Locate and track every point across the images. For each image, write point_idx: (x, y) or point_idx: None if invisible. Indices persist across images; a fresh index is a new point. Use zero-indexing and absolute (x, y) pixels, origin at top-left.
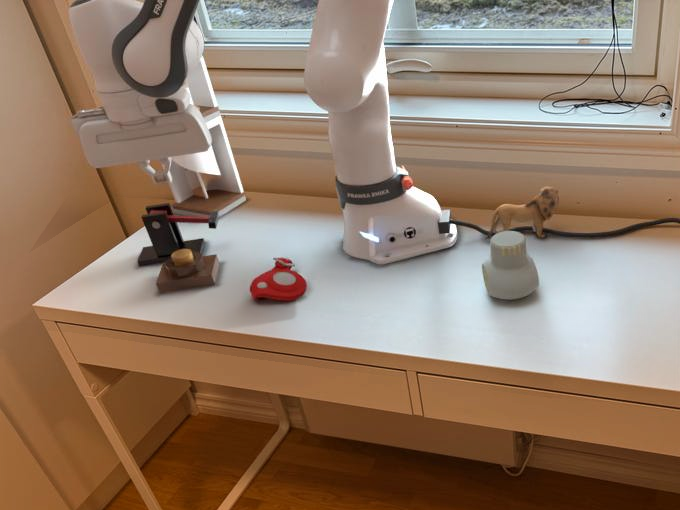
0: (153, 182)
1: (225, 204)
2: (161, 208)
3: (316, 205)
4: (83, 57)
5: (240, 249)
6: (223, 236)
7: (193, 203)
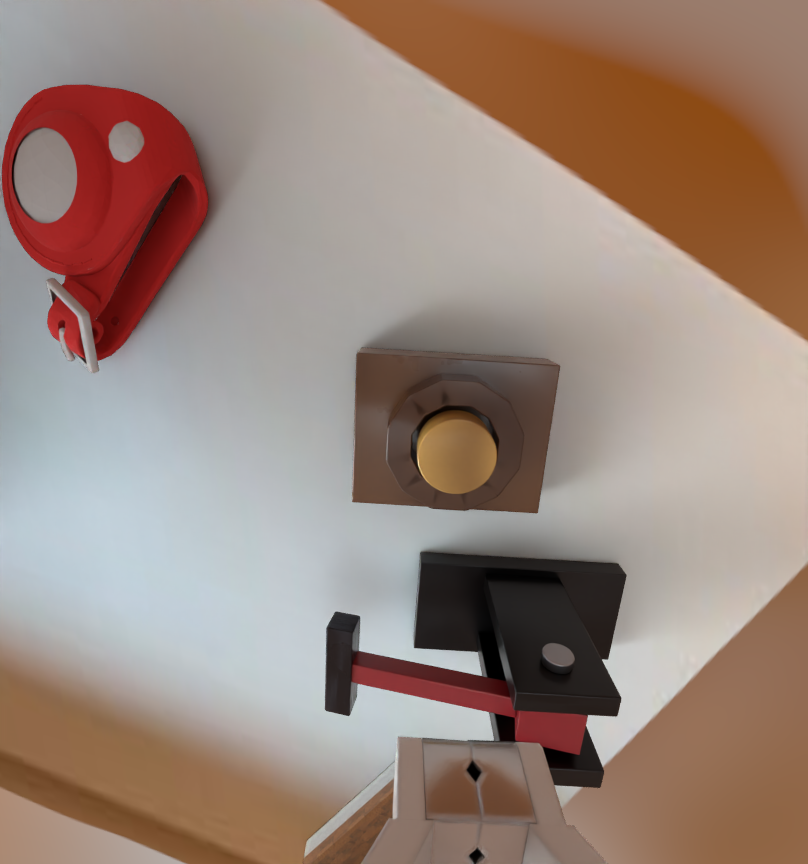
0: (540, 756)
1: (355, 820)
2: None
3: (81, 741)
4: None
5: (296, 557)
6: None
7: None
